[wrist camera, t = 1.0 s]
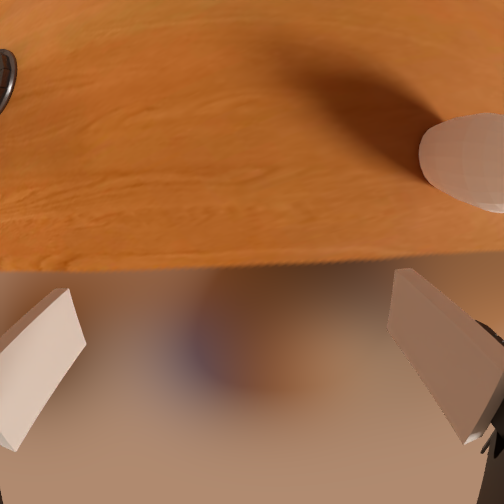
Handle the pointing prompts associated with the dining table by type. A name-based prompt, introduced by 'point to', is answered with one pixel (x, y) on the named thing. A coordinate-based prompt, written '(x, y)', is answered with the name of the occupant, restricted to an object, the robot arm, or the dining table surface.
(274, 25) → the dining table surface
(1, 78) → the candle cup
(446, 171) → the bottle
